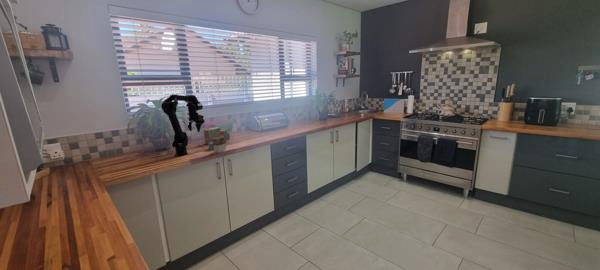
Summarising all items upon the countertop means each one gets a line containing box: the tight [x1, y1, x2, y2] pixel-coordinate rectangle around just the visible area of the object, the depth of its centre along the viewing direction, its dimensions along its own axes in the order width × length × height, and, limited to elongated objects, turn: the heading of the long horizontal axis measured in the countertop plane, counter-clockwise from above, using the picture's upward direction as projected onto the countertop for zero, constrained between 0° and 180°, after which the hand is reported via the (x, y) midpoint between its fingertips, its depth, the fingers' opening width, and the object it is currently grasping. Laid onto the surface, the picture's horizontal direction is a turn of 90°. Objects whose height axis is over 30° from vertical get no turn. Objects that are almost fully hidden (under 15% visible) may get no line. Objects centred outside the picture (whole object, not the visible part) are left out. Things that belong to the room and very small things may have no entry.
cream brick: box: [213, 142, 227, 153], centre depth 187 cm, size 8×4×5 cm, turn 159°
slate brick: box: [207, 142, 214, 151], centre depth 193 cm, size 8×4×5 cm, turn 129°
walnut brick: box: [213, 136, 227, 146], centre depth 186 cm, size 8×4×5 cm, turn 151°
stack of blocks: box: [203, 126, 231, 145], centre depth 215 cm, size 21×6×12 cm, turn 146°
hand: (194, 131), depth 195 cm, fingers open, 9 cm apart
